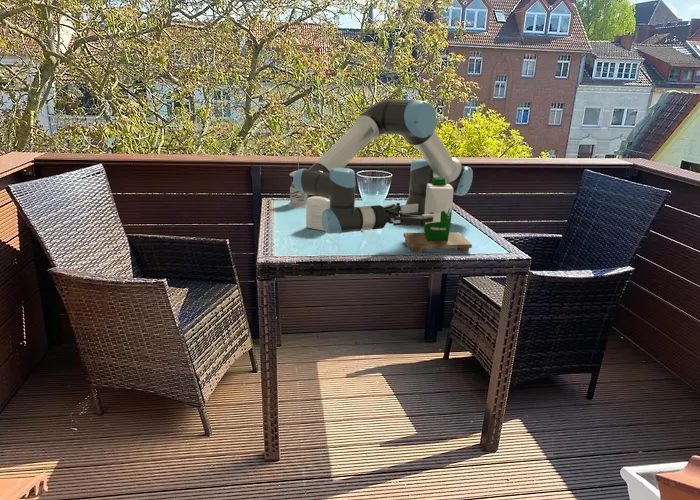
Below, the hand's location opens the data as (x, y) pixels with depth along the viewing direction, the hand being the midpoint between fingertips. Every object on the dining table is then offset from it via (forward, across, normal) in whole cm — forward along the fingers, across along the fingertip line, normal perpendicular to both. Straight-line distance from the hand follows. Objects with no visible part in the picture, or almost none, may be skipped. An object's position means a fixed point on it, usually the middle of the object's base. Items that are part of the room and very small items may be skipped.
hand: (428, 212), depth 163 cm
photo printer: (-26, -34, -13) cm, 45 cm away
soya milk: (+4, -1, -10) cm, 11 cm away
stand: (+4, 0, -12) cm, 13 cm away
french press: (-20, -74, -13) cm, 78 cm away
